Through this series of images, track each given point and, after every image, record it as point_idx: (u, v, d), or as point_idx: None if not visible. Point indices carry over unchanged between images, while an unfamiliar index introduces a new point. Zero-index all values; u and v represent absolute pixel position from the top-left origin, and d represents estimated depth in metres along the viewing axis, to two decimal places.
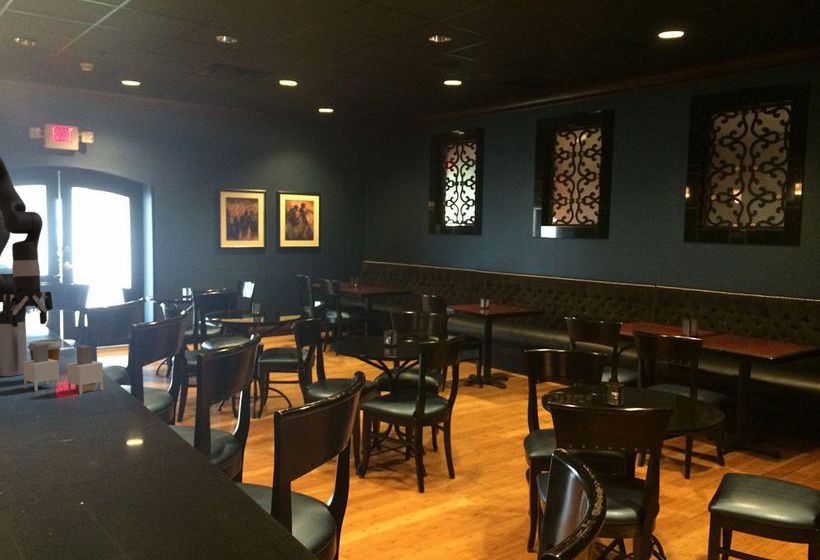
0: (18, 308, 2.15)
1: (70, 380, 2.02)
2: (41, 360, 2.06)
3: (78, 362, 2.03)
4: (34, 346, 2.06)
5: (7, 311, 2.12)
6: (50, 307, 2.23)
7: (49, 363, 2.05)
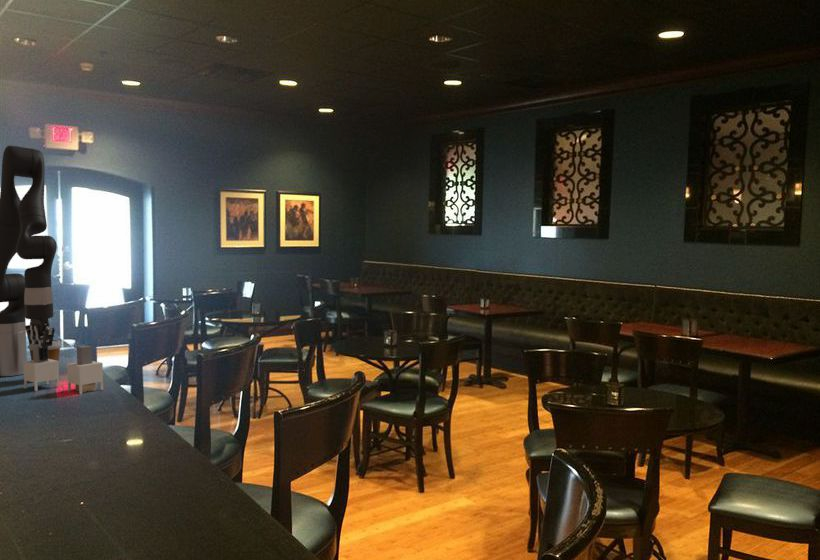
0: None
1: (70, 380, 2.02)
2: None
3: (78, 362, 2.03)
4: (34, 346, 2.06)
5: None
6: None
7: (49, 363, 2.05)
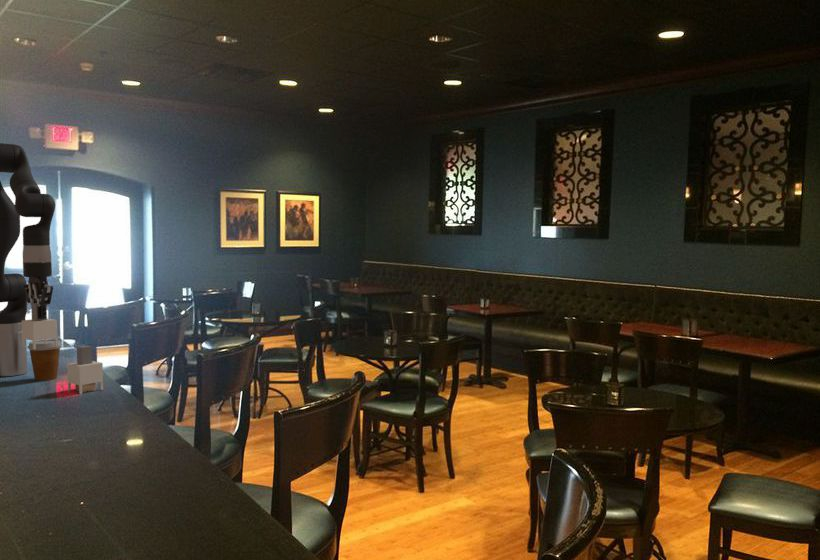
0: None
1: (70, 380, 2.02)
2: (39, 319, 2.05)
3: (78, 362, 2.03)
4: (32, 305, 2.05)
5: None
6: None
7: (47, 322, 2.05)
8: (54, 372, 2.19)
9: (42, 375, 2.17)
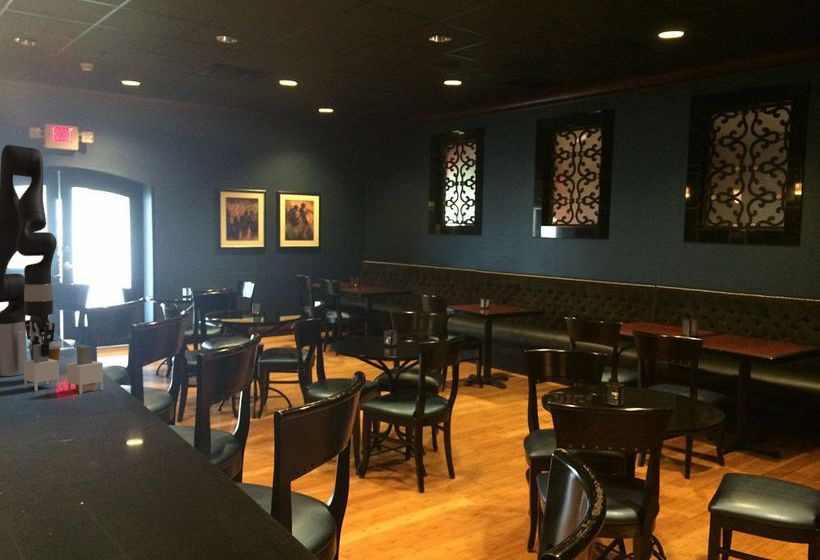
0: None
1: (70, 380, 2.02)
2: (41, 360, 2.06)
3: (78, 362, 2.03)
4: (34, 346, 2.06)
5: None
6: None
7: (49, 363, 2.05)
8: None
9: None
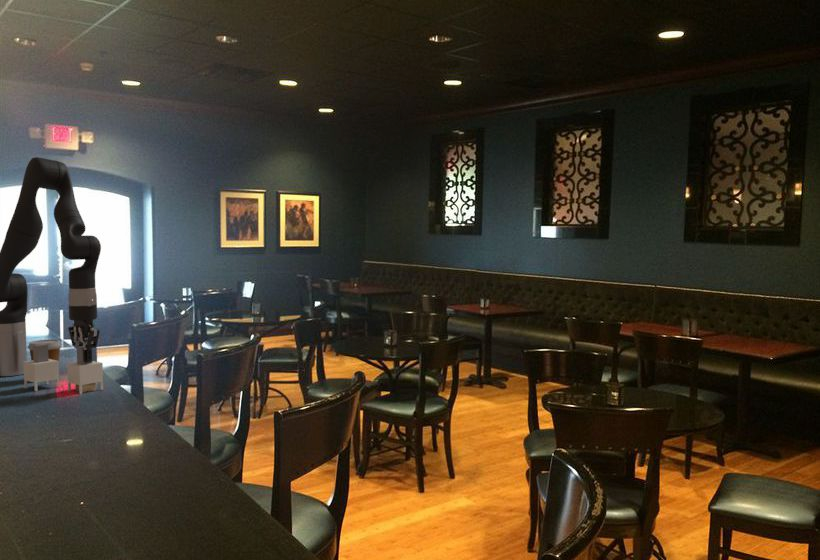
0: None
1: (70, 380, 2.02)
2: (41, 360, 2.06)
3: (78, 362, 2.03)
4: (34, 346, 2.06)
5: None
6: None
7: (49, 363, 2.05)
8: None
9: None
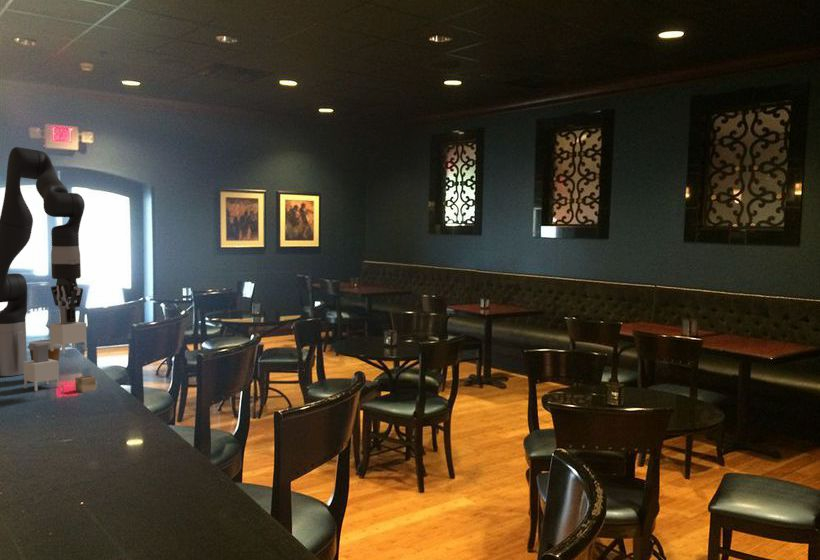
0: None
1: (53, 340, 1.99)
2: (41, 360, 2.06)
3: (61, 322, 1.99)
4: (34, 346, 2.06)
5: None
6: None
7: (49, 363, 2.05)
8: None
9: None
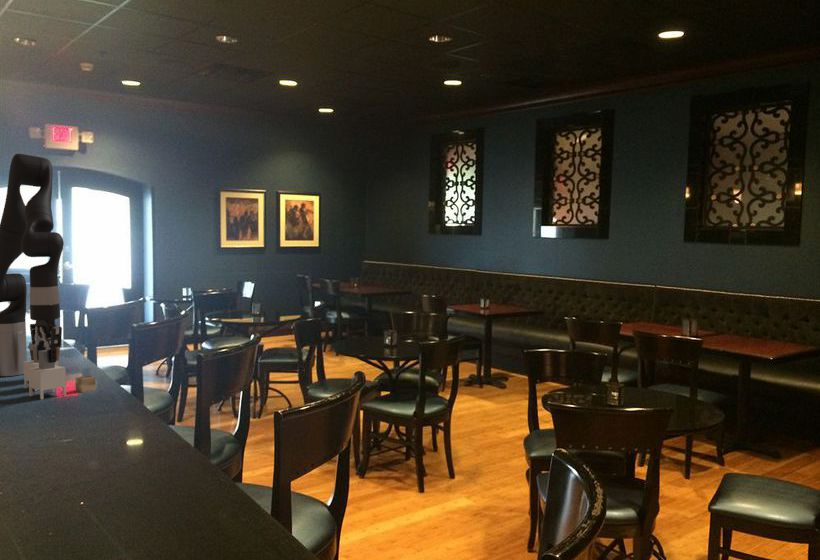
0: None
1: (31, 385, 1.95)
2: None
3: (40, 366, 1.96)
4: (34, 346, 2.06)
5: None
6: None
7: None
8: None
9: None
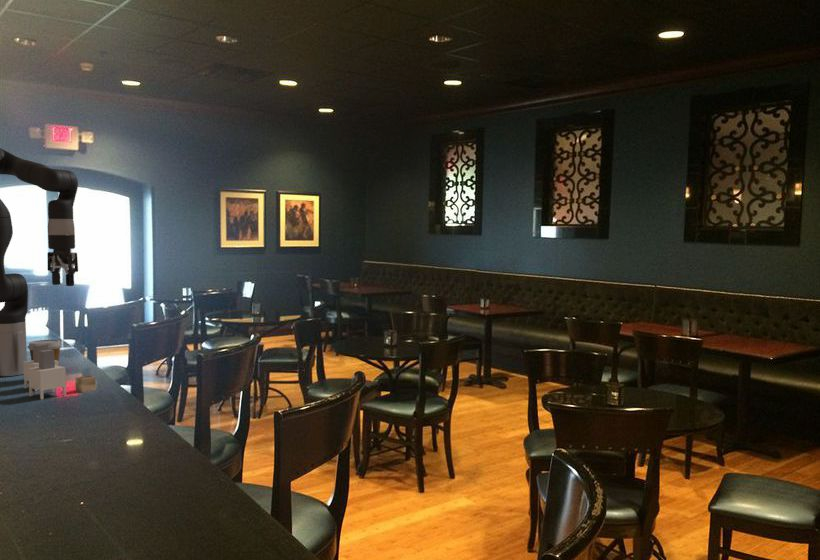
0: (72, 267, 2.15)
1: (31, 385, 1.95)
2: None
3: (40, 366, 1.96)
4: (34, 346, 2.06)
5: None
6: None
7: None
8: None
9: None
